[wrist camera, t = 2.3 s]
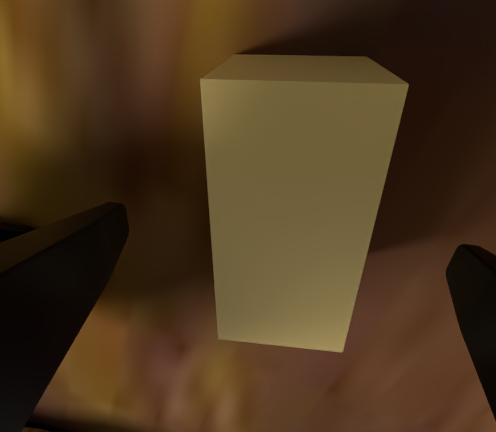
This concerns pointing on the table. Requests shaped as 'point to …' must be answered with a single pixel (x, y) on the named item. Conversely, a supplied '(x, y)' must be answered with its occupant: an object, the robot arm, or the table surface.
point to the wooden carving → (33, 430)
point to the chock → (295, 190)
